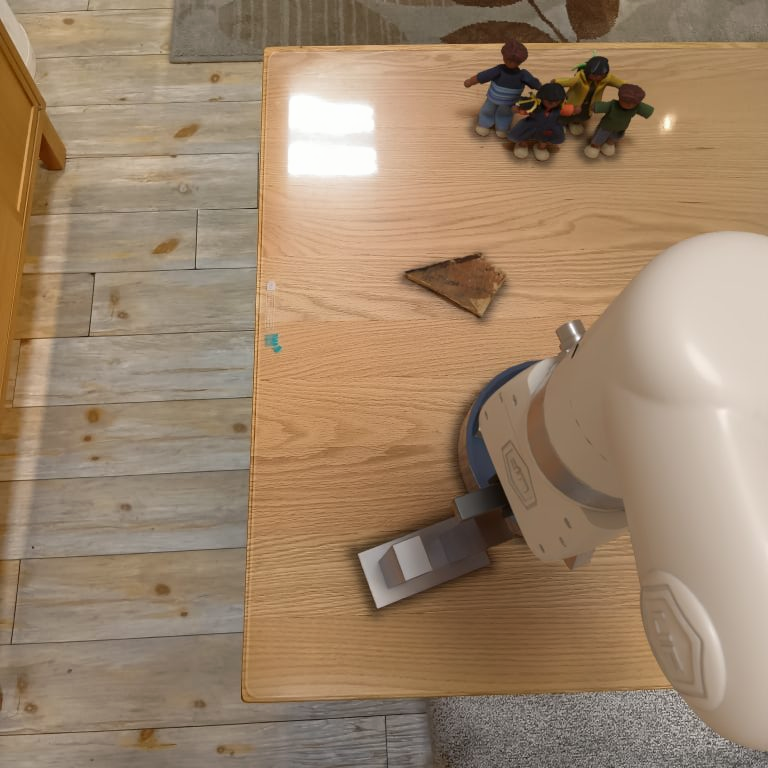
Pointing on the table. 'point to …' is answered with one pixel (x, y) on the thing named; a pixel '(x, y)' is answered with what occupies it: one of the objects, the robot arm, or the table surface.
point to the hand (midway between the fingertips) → (514, 492)
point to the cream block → (478, 427)
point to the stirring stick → (479, 502)
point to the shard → (462, 280)
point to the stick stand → (431, 556)
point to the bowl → (474, 450)
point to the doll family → (556, 104)
